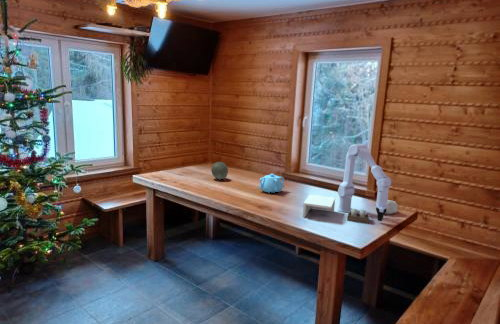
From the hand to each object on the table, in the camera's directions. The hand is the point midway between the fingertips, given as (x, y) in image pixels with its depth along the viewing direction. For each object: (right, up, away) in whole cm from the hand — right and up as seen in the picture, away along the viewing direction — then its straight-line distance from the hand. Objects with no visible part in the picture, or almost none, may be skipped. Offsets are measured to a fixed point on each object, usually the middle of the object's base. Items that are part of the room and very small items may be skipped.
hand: (379, 220), depth 200 cm
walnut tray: (-11, 0, +4) cm, 12 cm away
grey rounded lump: (+12, +1, +20) cm, 24 cm away
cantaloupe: (-101, +19, +91) cm, 137 cm away
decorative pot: (-59, +11, +59) cm, 84 cm away
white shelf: (-33, +2, +12) cm, 35 cm away
